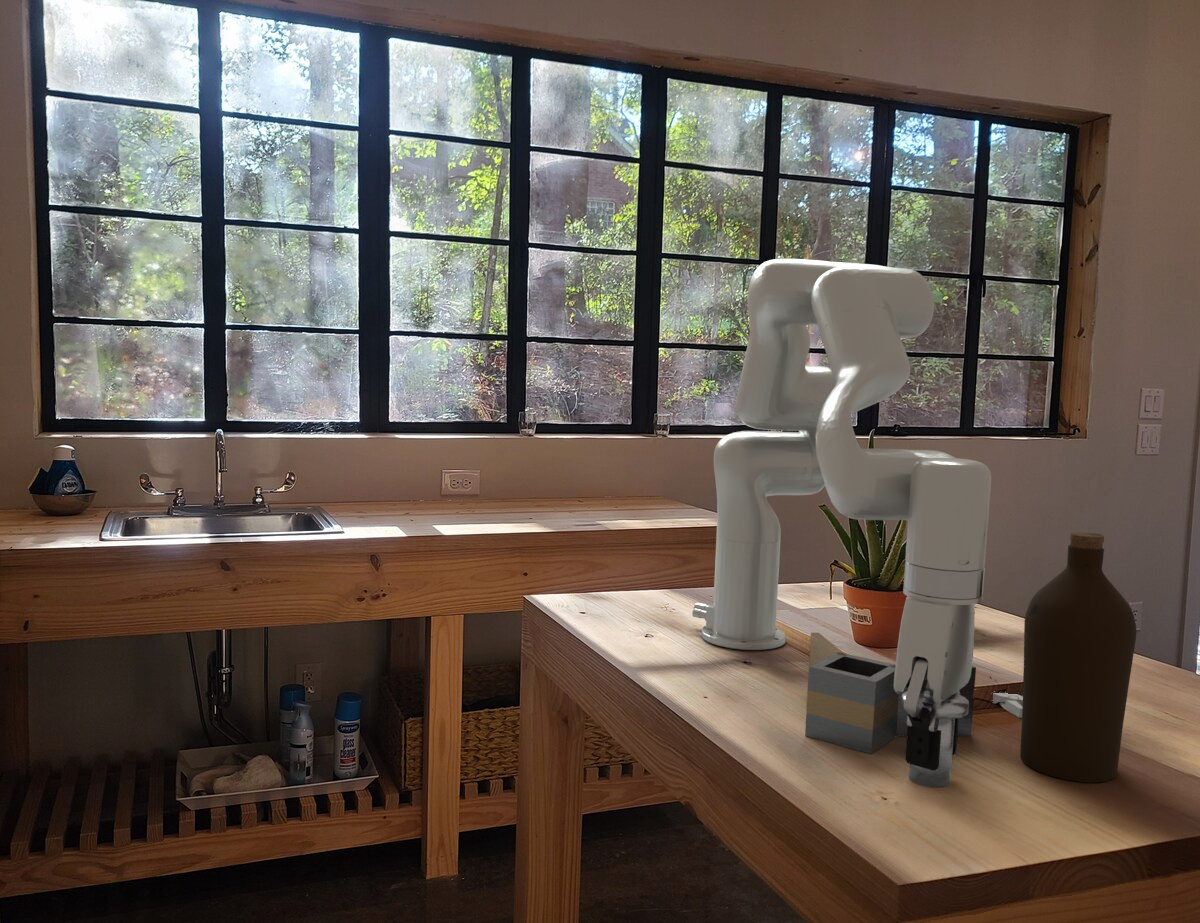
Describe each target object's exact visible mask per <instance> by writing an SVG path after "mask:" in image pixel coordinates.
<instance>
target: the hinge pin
mask: <svg viewBox="0 0 1200 923" xmlns="http://www.w3.org/2000/svg"><path fill="white" fill-rule="evenodd" d="M906 694H907V692H905V693H903V694H902V703H901V704H902V706H903V707H904V701H905V698H906ZM932 695H933V692H928V691H925V692H924V696H927V697H931V696H932ZM923 705H924V706H923V707H924V708H928V710H929V713H930V715H931V708H932V705H930V704H925V703H923ZM968 708H969V701H968V700H967V699H966V698H965V697H963V696H961V695H959V694H958V695H956V696H954V695H952V696H950V697H949V698H947V699H946V700H944V701H942V703H941V707H940V708H938V718H939V723H938V729H937V730H940V731H941V743H940V757H939V767H938V769H936V770H930V769H926V768H923V767H919V766H915V765H912V764H909V770H908V778H909V779H910V781H912V782H914V783H915V784H918V785H920V786H924V787H929V788H945V787H948V786H950V784H951V777H952V776H951V774H952V764H953V763H952V761H953V755H952V751H953V737H954V723H955V719H956V718H961V717H964V716H966V715H967V714H968Z"/></svg>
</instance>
